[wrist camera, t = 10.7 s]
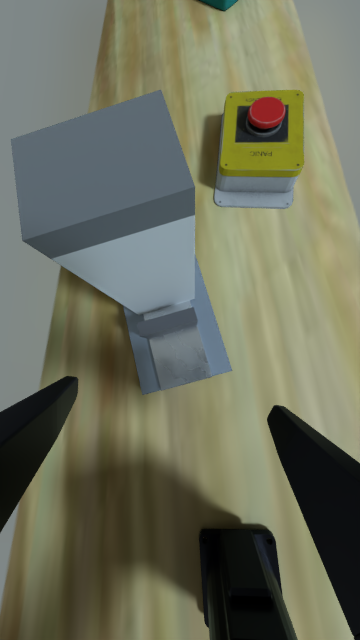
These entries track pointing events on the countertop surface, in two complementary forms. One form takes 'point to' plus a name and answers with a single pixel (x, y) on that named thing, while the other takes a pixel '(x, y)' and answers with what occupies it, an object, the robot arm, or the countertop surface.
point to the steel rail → (178, 352)
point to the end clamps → (168, 323)
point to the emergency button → (260, 149)
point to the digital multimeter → (220, 3)
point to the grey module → (112, 202)
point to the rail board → (206, 329)
